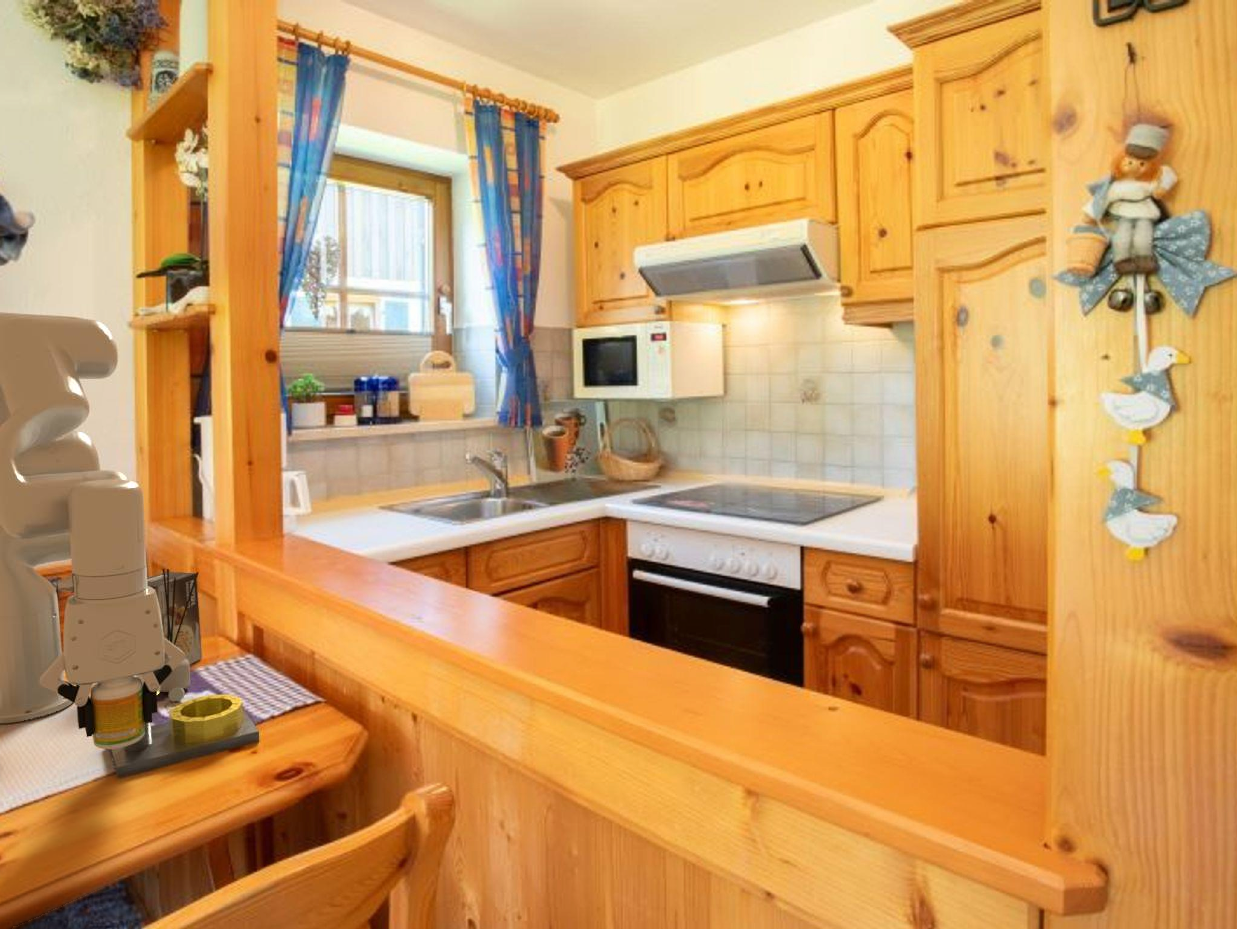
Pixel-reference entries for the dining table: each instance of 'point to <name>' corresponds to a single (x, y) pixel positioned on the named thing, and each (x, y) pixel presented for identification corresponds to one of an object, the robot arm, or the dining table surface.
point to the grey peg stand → (188, 734)
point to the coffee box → (180, 611)
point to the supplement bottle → (118, 712)
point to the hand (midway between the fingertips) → (118, 723)
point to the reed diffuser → (182, 671)
